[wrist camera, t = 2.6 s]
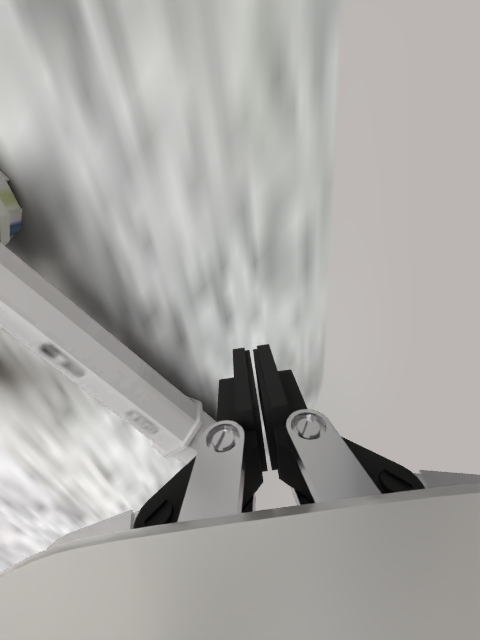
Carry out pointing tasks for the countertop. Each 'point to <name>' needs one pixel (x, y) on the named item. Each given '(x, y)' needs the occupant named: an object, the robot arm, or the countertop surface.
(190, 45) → the countertop surface
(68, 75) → the countertop surface
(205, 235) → the countertop surface
